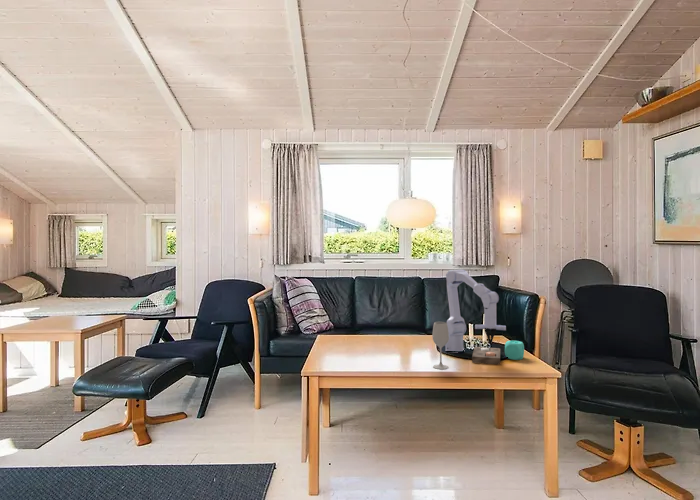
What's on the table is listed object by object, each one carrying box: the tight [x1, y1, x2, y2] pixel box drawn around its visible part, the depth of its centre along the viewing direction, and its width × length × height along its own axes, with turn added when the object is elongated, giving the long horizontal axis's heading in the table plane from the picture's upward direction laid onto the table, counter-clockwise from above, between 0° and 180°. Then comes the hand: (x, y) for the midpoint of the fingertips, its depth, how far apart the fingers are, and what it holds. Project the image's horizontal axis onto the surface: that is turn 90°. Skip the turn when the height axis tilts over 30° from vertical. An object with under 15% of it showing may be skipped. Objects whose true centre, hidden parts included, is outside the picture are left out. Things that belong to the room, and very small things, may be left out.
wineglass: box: [431, 321, 449, 370], centre depth 212 cm, size 8×8×21 cm
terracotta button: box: [486, 352, 495, 356], centre depth 222 cm, size 4×4×3 cm
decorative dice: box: [504, 340, 525, 361], centre depth 227 cm, size 8×8×8 cm
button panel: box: [471, 346, 501, 365], centre depth 227 cm, size 13×21×3 cm, turn 161°
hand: (490, 344), depth 222 cm, fingers closed
